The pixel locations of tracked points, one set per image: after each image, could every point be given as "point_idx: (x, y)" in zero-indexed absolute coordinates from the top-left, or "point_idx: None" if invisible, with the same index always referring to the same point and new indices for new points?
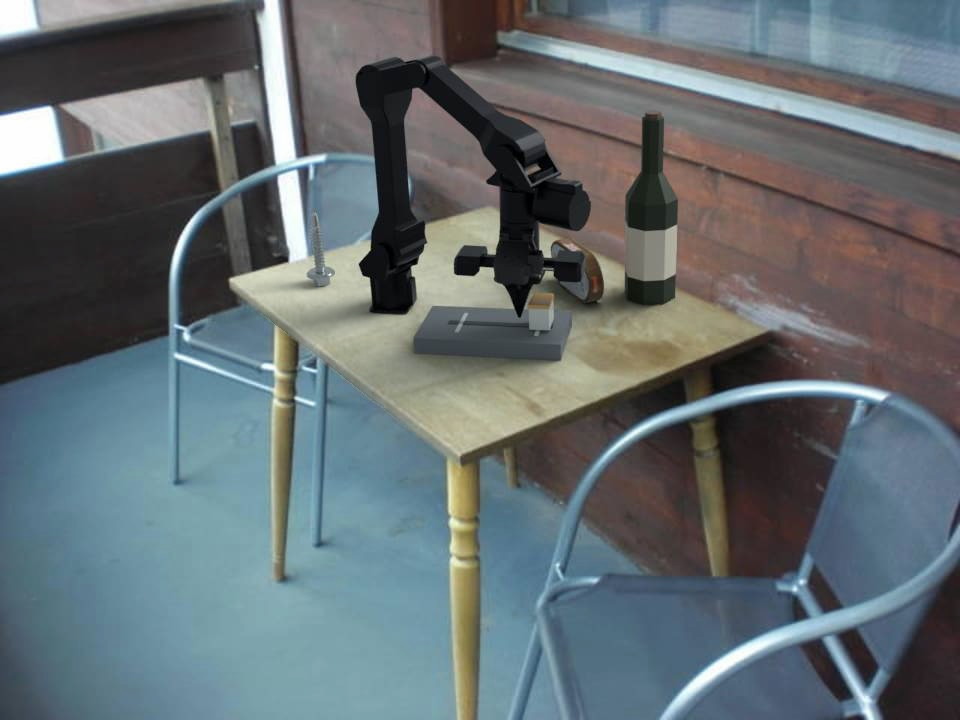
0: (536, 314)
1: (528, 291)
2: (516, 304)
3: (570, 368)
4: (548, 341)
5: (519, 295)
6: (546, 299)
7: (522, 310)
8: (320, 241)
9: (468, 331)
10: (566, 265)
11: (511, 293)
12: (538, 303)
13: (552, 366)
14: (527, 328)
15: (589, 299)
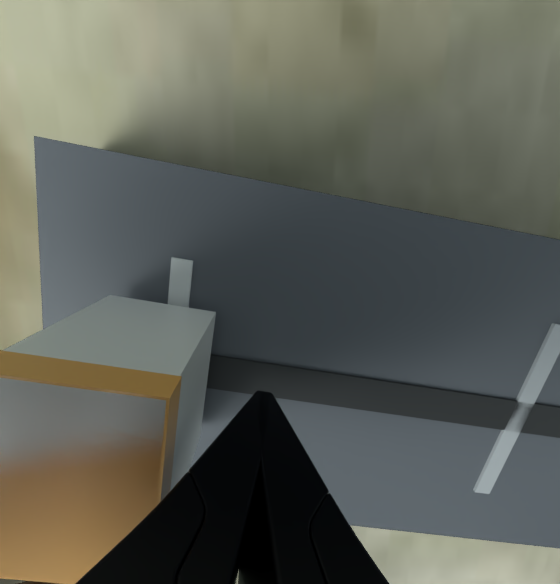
0: (135, 343)
1: (101, 577)
2: (279, 447)
3: (38, 61)
4: (109, 185)
5: (245, 523)
6: (16, 489)
7: (240, 413)
8: None
9: (503, 333)
10: None
11: (338, 555)
12: (75, 422)
13: (124, 92)
14: (229, 345)
15: (31, 581)
